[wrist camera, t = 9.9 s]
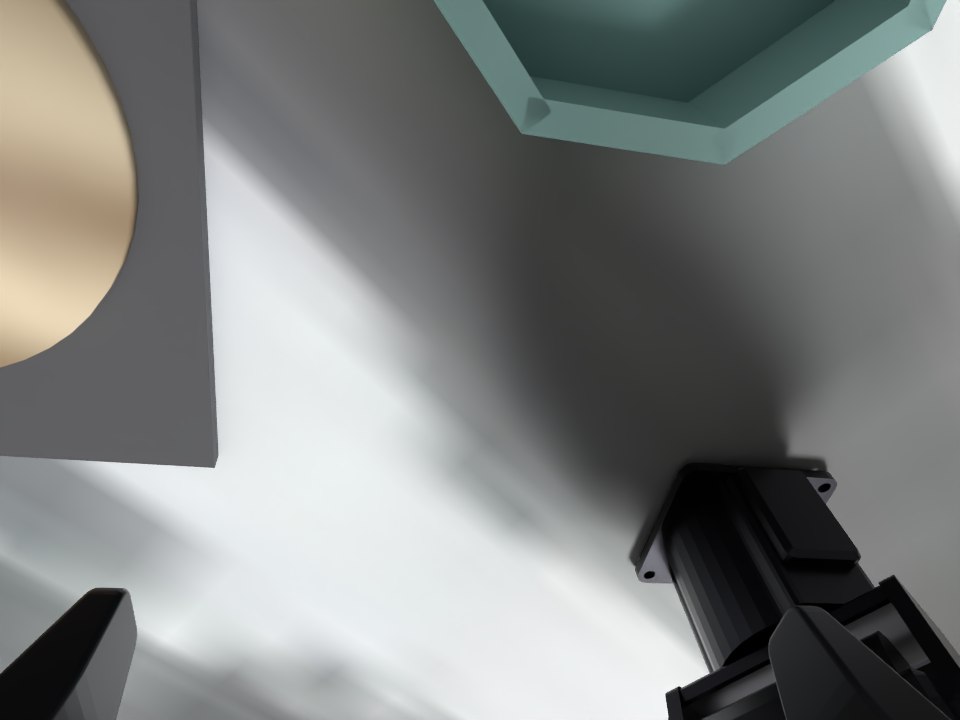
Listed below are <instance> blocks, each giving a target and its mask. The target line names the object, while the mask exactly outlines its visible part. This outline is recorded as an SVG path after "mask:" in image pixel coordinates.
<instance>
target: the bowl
mask: <svg viewBox="0 0 960 720" xmlns="http://www.w3.org/2000/svg"><path fill="white" fill-rule="evenodd" d="M433 1H434V2H435V4H436V5H437V7H438V8H439V10H440V11H441V13H442V14H443V16H444V17H445V19H446V20H447V22H448V23H449V25H450V26H451V28H452V29H453V31H454V32H455V34H456V35H457V37H458V38H459V40H460V41H461V43H462V44H463V46H464V48H465V49H466V51H467V52H468V54H469V55H470V57H471V58H472V60H473V61H474V63H475V64H476V66H477V67H478V69H479V70H480V72H481V73H482V75H483V76H484V78H485V79H486V81H487V82H488V84H489V85H490V87H491V88H492V90H493V91H494V93H495V94H496V96H497V97H498V99H499V100H500V102H501V104H502V105H503V107H504V108H505V110H506V111H507V113H508V114H509V116H510V117H511V119H512V120H513V122H514V123H515V125H516V126H517V128H518V129H519V131H520V133H521V134H526V135H533V136H539V137H546V138H552V139H559V140H565V141H572V142H578V143H585V144H591V145H598V146H604V147H611V148H618V149H624V150H631V151H637V152H644V153H650V154H657V155H663V156H670V157H676V158H683V159H689V160H696V161H702V162H709V163H715V164H722V165H726V164H727V163H729V162H730V161H732V160H733V159H735V158H736V157H738V156H739V155H741V154H742V153H744V152H746V151H747V150H749V149H750V148H752V147H753V146H755V145H756V144H758V143H759V142H761V141H762V140H764V139H765V138H767V137H768V136H770V135H772V134H773V133H775V132H776V131H778V130H779V129H781V128H782V127H784V126H785V125H787V124H788V123H790V122H791V121H793V120H795V119H796V118H798V117H799V116H801V115H802V114H804V113H805V112H807V111H808V110H810V109H811V108H813V107H814V106H816V105H817V104H819V103H821V102H822V101H824V100H825V99H827V98H828V97H830V96H831V95H833V94H834V93H836V92H837V91H839V90H840V89H842V88H844V87H845V86H847V85H848V84H850V83H851V82H853V81H854V80H856V79H857V78H859V77H860V76H862V75H863V74H865V73H866V72H868V71H870V70H871V69H873V68H874V67H876V66H877V65H879V64H880V63H882V62H883V61H885V60H886V59H888V58H889V57H891V56H893V55H894V54H896V53H897V52H899V51H900V50H902V49H903V48H905V47H906V46H908V45H909V44H911V43H912V42H914V41H916V40H917V39H919V38H920V37H922V36H923V35H925V34H926V33H928V32H929V31H931V30H932V29H933V27H934V25H935V23H936V21H937V19H938V17H939V14H940V12H941V10H942V8H943V6H944V4H945V2H946V0H433Z"/></svg>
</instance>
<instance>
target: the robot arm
mask: <svg viewBox="0 0 960 720" xmlns="http://www.w3.org/2000/svg"><path fill="white" fill-rule="evenodd" d="M694 475H695V476H694ZM692 476H693V477H692ZM836 486H837V482H836V481H835V479H834V478H833V477H832V475H831V474H830V473H829V472H825V471H810V470H795V469H780V468H764V467H749V466H734V465H719V464H703V463H690V464H688V465H685V466H684V467H683V468H681V470H680V471H679V473H678V475H677V477H676V479H675V481H674V484H673V486H672V488H671V490H670V492H669V495H668V497H667V499H666V501H665V503H664V506H663V508H662V510H661V512H660V514H659V517H658V519H657V521H656V523H655V525H654V528H653V530H652V532H651V534H650V536H649V539H648V541H647V543H646V545H645V547H644V550H643V552H642V554H641V556H640V558H639V561H638V563H637V565H636V568H635V571H636V574H637V577H638V579H639V580H640V581H641V582H645V583H674V586H675V588H676V591H677V593H678V596H679V598H680V601H681V603H682V606H683V608H684V611H685V613H686V615H687V618H688V620H689V623H690V625H691V628H692V630H693V633H694V635H695V638H696V640H697V643H698V645H699V648H700V650H701V653H702V655H703V658H704V660H705V663H706V665H707V668H708V670H709V673H710V674H708V675H706V676H704V677H702V678H700V679H698V680H696V681H694V682H692V683H691V684H689V685H687V686H685V687H683V688H681V687H677V688H675V689H673V690H671V691H669V692H667V693H666V702H667V708H668V715H669V717H668V720H960V656H959V654H958V653H957V652H956V650H955V649H954V648H953V646H952V645H951V644H950V642H949V641H948V640H947V638H946V637H945V636H944V634H943V633H942V632H941V631H940V629H939V628H938V627H937V626H936V625H935V623H934V622H933V621H932V620H931V619H930V617H929V616H928V615H927V614H926V613H925V611H924V610H923V609H922V608H921V607H920V605H919V604H918V603H917V602H916V601H915V599H914V598H913V597H912V596H911V595H910V593H909V592H908V591H907V590H906V589H905V587H904V586H903V585H902V584H901V583H900V581H899V580H898V579H897V578H896V577H895V575H892V576H890V577H888V578H886V579H884V580H882V581H881V582H879V585H880V586H878V587H876V588H875V587H874V585H873V584H872V583H871V581H870V580H869V578H868V577H867V575H866V574H865V572H864V571H863V570H862V568H861V567H860V565H859V564H858V561H859V560H860V558H861V555H860V553H859V551H858V549H857V548H856V547H855V545H854V544H853V542H852V541H851V539H850V538H849V537H848V535H847V534H846V532H845V531H844V530H843V528H842V527H841V525H840V524H839V522H838V521H837V520H836V518H835V517H834V515H833V514H832V513H831V511H830V510H829V508H828V507H827V505H826V503H827V501H828V500H829V498H830V497H831V495H832V493H833V492H834V490H835V489H836ZM136 640H137V626H136V621H135V616H134V611H133V606H132V601H131V596H130V593H129V592H128V591H127V590H126V589H124V588H94V589H92V590H90V591H88V592H87V593H86V594H85V595H84V596H83V597H82V598H80V599H79V600H78V601H77V602H76V603H75V604H74V605H73V606H72V607H71V608H70V609H69V610H68V611H67V612H66V613H64V614H63V615H62V616H61V617H60V618H59V619H58V620H57V621H56V622H55V623H54V624H53V625H52V626H51V627H50V628H49V629H47V630H46V631H45V632H44V633H43V634H42V635H41V636H40V637H39V638H38V639H37V640H36V641H35V642H34V643H33V644H32V645H30V646H29V647H28V648H27V649H26V650H25V651H24V652H23V653H22V654H21V655H20V656H19V657H18V658H17V659H16V660H15V661H13V662H12V663H11V664H10V665H9V666H8V667H7V668H6V669H5V670H4V671H3V672H2V673H1V674H0V720H116V717H117V714H118V710H119V706H120V702H121V699H122V695H123V691H124V687H125V684H126V680H127V676H128V672H129V669H130V665H131V661H132V657H133V654H134V650H135V646H136Z"/></svg>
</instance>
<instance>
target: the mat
mask: <svg viewBox="0 0 960 720" xmlns="http://www.w3.org/2000/svg"><path fill="white" fill-rule="evenodd" d="M65 1H66V2H67V4H68V5H69V6H70V8H71V9H72V11H73V12H74V13H75V15H76V16H77V18H78V19H79V20H80V22H81V23H82V25H83V27H84V28H85V30H86V32H87V33H88V35H89V37H90V39H91V40H92V42H93V44H94V46H95V47H96V49H97V51H98V53H99V54H100V56H101V58H102V60H103V61H104V63H105V65H106V68H107V70H108V72H109V75H110V77H111V79H112V81H113V84H114V86H115V88H116V90H117V93H118V95H119V97H120V100H121V102H122V106H123V109H124V112H125V115H126V119H127V122H128V125H129V128H130V132H131V135H132V139H133V145H134V151H135V157H136V163H137V169H138V194H139V204H138V212H137V220H136V228H135V233H134V237H133V240H132V243H131V247H130V250H129V253H128V257H127V259H126V261H125V263H124V265H123V267H122V269H121V271H120V273H119V275H118V277H117V279H116V281H115V282H114V284H113V285H112V287H111V288H110V289H109V291H108V292H107V293H106V295H105V296H104V297H103V299H102V300H101V301H100V303H99V304H98V305H97V307H96V308H95V309H94V311H93V312H92V314H91V315H90V316H89V317H88V318H87V319H86V320H85V321H84V322H83V323H82V324H81V325H79V326H78V327H77V328H76V329H75V330H74V331H73V332H72V333H71V334H70V335H68V336H67V337H65V338H64V339H62V340H61V341H59V342H58V343H56V344H55V345H53V346H52V347H50V348H49V349H46V350H44V351H42V352H40V353H38V354H36V355H34V356H32V357H29V358H27V359H25V360H23V361H19V362H16V363H13V364H10V365H7V366H3V367H0V456H15V457H32V458H50V459H68V460H86V461H104V462H121V463H139V464H157V465H175V466H193V467H210V468H215V465H216V461H217V458H218V438H217V417H216V397H215V376H214V355H213V334H212V313H211V292H210V272H209V251H208V230H207V209H206V188H205V167H204V147H203V126H202V105H201V84H200V63H199V43H198V22H197V1H196V0H65Z"/></svg>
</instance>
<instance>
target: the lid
mask: <svg viewBox="0 0 960 720" xmlns="http://www.w3.org/2000/svg"><path fill="white" fill-rule="evenodd" d="M138 204H139V194H138V169H137V163H136V157H135V151H134V145H133V139H132V135H131V132H130V128H129V125H128V122H127V119H126V115H125V112H124V109H123V106H122V102H121V100H120V97H119V95H118V93H117V90H116V88H115V86H114V84H113V81H112V79H111V77H110V75H109V72H108V70H107V68H106V65H105V63H104V61H103V60H102V58H101V56H100V54H99V53H98V51H97V49H96V47H95V46H94V44H93V42H92V40H91V39H90V37H89V35H88V33H87V32H86V30H85V28H84V27H83V25H82V23H81V22H80V20H79V19H78V18H77V16H76V15H75V13H74V12H73V11H72V9H71V8H70V6H69V5H68V4H67V2H66V1H65V0H0V367H3V366H7V365H10V364H13V363H16V362H19V361H23V360H25V359H27V358H29V357H32V356H34V355H36V354H38V353H40V352H42V351H44V350H46V349H49V348H50V347H52V346H53V345H55V344H56V343H58V342H59V341H61V340H62V339H64V338H65V337H67V336H68V335H70V334H71V333H72V332H73V331H74V330H75V329H76V328H77V327H78V326H79V325H81V324H82V323H83V322H84V321H85V320H86V319H87V318H88V317H89V316H90V315H91V314H92V312H93V311H94V309H95V308H96V307H97V305H98V304H99V303H100V301H101V300H102V299H103V297H104V296H105V295H106V293H107V292H108V291H109V289H110V288H111V287H112V285H113V284H114V282H115V281H116V279H117V277H118V275H119V273H120V271H121V269H122V267H123V265H124V263H125V261H126V259H127V257H128V253H129V250H130V247H131V243H132V240H133V237H134V233H135V228H136V220H137V212H138Z"/></svg>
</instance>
